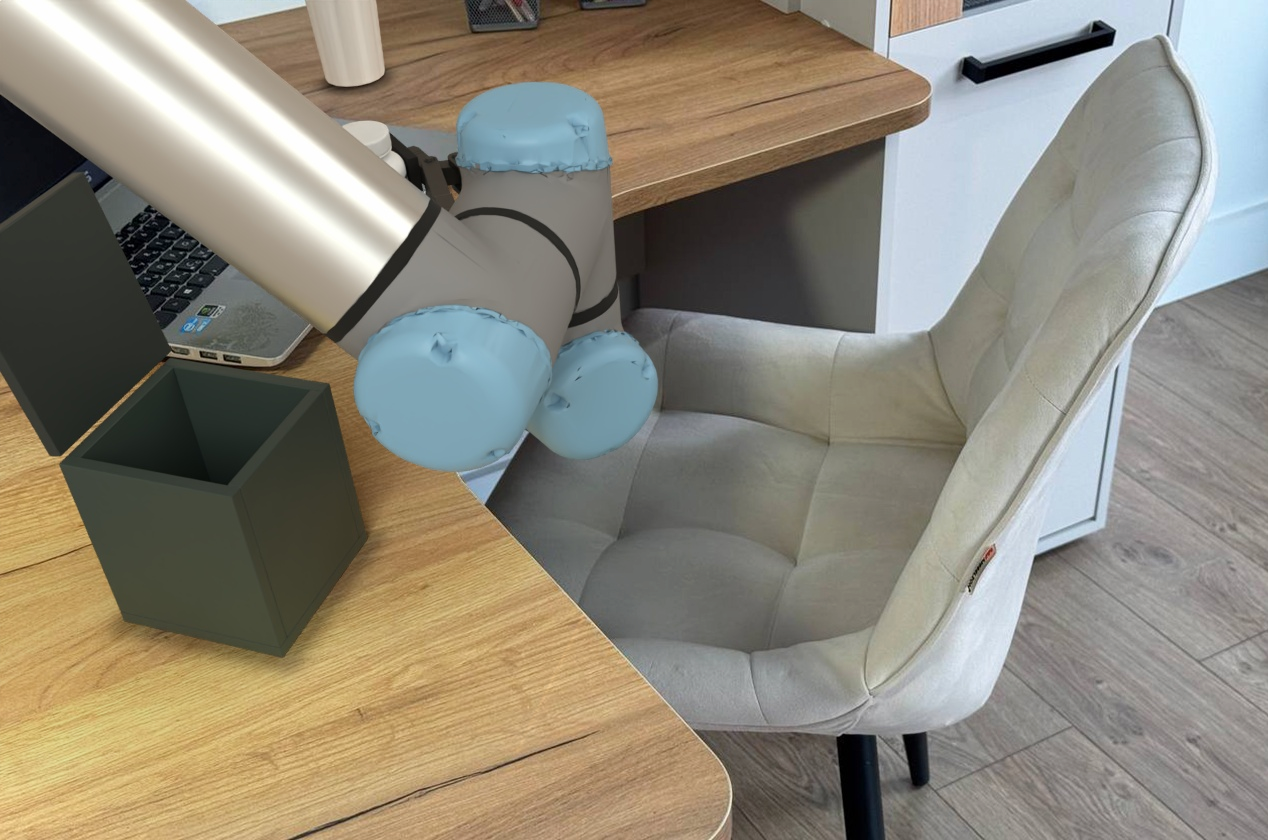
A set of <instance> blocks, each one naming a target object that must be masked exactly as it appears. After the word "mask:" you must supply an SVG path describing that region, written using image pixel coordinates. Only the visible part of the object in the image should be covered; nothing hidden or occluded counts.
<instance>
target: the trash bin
mask: <svg viewBox="0 0 1268 840" xmlns="http://www.w3.org/2000/svg"><path fill="white" fill-rule="evenodd" d="M340 425H341V424H340V421H339V417H338V414H337V409H336V405H335V400H334V396H333V393H332V387H331V384H330V383H329V382H322V381H317V380H316V381H315V380H310V379H305V378H299V377H291V376H286V375H281V374H280V375H279V374H272V373H266V372H260V371H255V370H247V369H241V368H234V367H231V366H222V365H216V364H211V363H204V362H198V361H192V360H184V359H178V358H173V357H170V358H168V359H167V360H166V361H164V363H163V364H162V365H160V366H159V367H158V368H157V369H156V370H155V371H154V372H153V373H152V374H151V375H150V376H149V377H148V378H147V379H146V380H145V381H144V382H142V383H141V384H140V385H139V386H138V387H137V388H136V390H134V391H133V392H132V393H131V394H130V395H129V396H127V398H126V399H125V400H124V401H123V402H121V404H120V405H118V406H117V407H116V408H115V410H113V411H112V412H111V413H110V414H109V415H108V416H107V417H106V418H105V419H104V420H103V421H102V422H100V423H99V424H98V426H96V427H95V428H94V429H93V430H92V431H91V432H90V433H89V434H88V435H87V436H86V437H85V438H84V439H83V440H82V441H81V442H80V443H79V444H77V446H76V447H75V448H73V450H72V451H70V452H69V453H68V455H66V456H65V458H63V459H62V460H61V461H60V462H59V463H58V466H59V468H60V471H61V473H62V476H63V477H64V480H65V483H66V485H67V488H68V491H69V493H70V495H71V497H72V499H73V502H74V504H75V506H76V509H77V512H78V514H79V516H80V519H81V521H82V523H83V526H84V529H85V531H86V533H87V535H88V538H89V540H90V542H91V545H92V547H93V550H94V552H95V554H96V556H97V559H98V562H99V564H100V567H101V569H102V571H103V574H104V576H105V579H106V581H107V583H108V585H109V588H110V590H111V593H112V595H113V598H114V600H115V602H116V605H117V608H118V609H119V612H120V614H121V617H122V620H123V621H124V622H126V623H130V624H135V625H138V626H143V627H148V628H151V629H152V628H153V629H156V630H161V631H164V632H170V633H173V634H178V635H182V636H186V637H191V638H196V639H200V640H203V641H207V642H208V641H209V642H213V643H217V644H222V645H226V646H230V647H235V648H238V649H243V650H246V651H247V650H248V651H252V652H256V653H260V654H265V655H270V656H273V657H278V658H284V657H285V656H286V654H287V653H288V651H289V650H290V649H291V648H292V646H293V645H294V643H295V642H296V640H297V639H298V637H299V636H300V635H301V633H302V632H303V630H304V629H305V628H306V627H307V625H308V624H309V622H310V620H311V619H312V618H313V616H314V615H315V613H316V612H317V611H318V609H319V608H320V607H321V606H322V604H323V602H324V601H325V600H326V598H327V596H329V594H330V593H331V591H332V590H333V588H334V587H335V585H337V582H339V580H340V579H341V577H342V576H343V574H344V573H345V571H347V568H348V567H349V566H350V565H351V563H352V561H353V560H354V559H355V558H356V556H357V555H358V554H359V552H360V550H361V549H362V548H363V546H364V545H365V543H366V542H367V540H368V534H367V530H366V528H365V523H364V519H363V515H362V511H361V507H360V503H359V499H358V495H357V491H356V486H355V482H354V479H353V474H352V470H351V466H350V462H349V458H348V454H347V450H346V446H345V442H344V437H343V434H342V430H341V429H342V428H341V426H340Z"/></svg>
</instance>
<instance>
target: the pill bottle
mask: <svg viewBox="0 0 1268 840" xmlns="http://www.w3.org/2000/svg"><path fill="white" fill-rule="evenodd" d="M341 126H342V127H343V128H344V129H345V130H347V131H348V132H349V133H350V134H351V135H353V136H354V137H355V138H356V139H358V140H359V141H360V142H361V143H363V144H364V145H365V146H366V147H368V148H369V149H370V150H371V151H372V152H374V153H375V154H376V155H377V156H379V157H380V158H381V159H382V160H384V161H385V162H386V163H387V164H388V165H390V166H391V167H392V168H393V169H395V170H396V171H397V172H398V173H400V174H401V175H402V176H403V177H405V178H406V179H407V180H408V177H407V172H406V167H405V163H404V161H403V159H402V158H401V157H400V156H399V155H398V154H397V153H395V152H393V151H391V148H392V146H391V139H390V134H389V132H390V130H389V127H388V125H386V124H384V122H383V123H382V122H380V121H377V120H358V121H352V122H348V123H346V124H343V125H341Z"/></svg>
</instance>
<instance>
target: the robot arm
mask: <svg viewBox="0 0 1268 840" xmlns="http://www.w3.org/2000/svg"><path fill="white" fill-rule="evenodd" d="M0 95H1V96H2V97H3V98H5V99H6V100H8V101H9V102H10V103H12V104H13V105H14V106H15V107H17V108H18V109H20V110H21V111H22V112H24V113H25V115H28V116H29V117H31V118H32V119H33V120H34V121H36V122H37V123H38V124H40V125H41V126H43V127H44V128H45V129H46V130H48V131H49V132H51V133H52V134H53V135H55V136H56V137H57V138H59V139H60V140H61V141H63V142H64V143H65V144H67V145H68V146H69V147H71V148H72V149H74V150H75V151H76V152H78V153H79V154H80V155H81V156H83V157H84V158H86V159H87V160H88V161H90V162H91V163H92V164H93V165H95V166H96V167H98V168H99V169H100V170H102V171H103V172H104V173H106V174H107V175H109V176H110V177H111V178H112V179H114V180H115V181H117V182H118V183H119V184H121V185H122V186H123V187H125V188H126V189H128V190H129V191H130V192H131V193H133V194H134V195H135V196H137V197H138V198H139V199H141V200H142V201H143V202H145V203H146V204H148V205H149V206H150V207H151V208H153V209H154V210H156V211H157V212H158V213H160V214H161V215H162V216H163V217H165V218H166V219H168V220H169V221H171V222H172V223H173V224H175V225H176V226H177V227H179V228H180V229H181V230H183V231H184V232H185V233H186V234H187V235H189V236H191V237H192V238H193V239H195V240H196V241H198V242H199V243H200V244H202V246H204V247H206V248H207V249H208V250H209V251H211V252H212V253H213V254H215V255H216V256H217V257H219V258H220V259H222V260H223V261H224V262H226V263H227V264H228V265H229V266H231V267H233V268H234V269H235V270H236V271H238V272H239V273H240V274H242V275H243V276H245V277H246V278H247V279H248V280H250V281H252V283H254V284H256V285H257V286H258V287H259V288H261V289H262V290H263V291H265V292H266V293H268V295H270V296H271V297H273V298H274V299H276V300H277V301H278V302H279V303H281V304H282V305H283V306H285V307H286V308H288V309H289V310H290V311H292V312H293V313H294V314H296V315H297V316H299V317H300V318H301V319H303V320H304V321H305V322H307V323H308V324H309V325H310V326H311V327H313V328H314V329H316V330H317V331H319V332H320V333H321V334H323V336H325V337H326V338H327V339H328V340H330V341H331V342H333V343H334V344H336V345H337V346H338V347H339V348H340V349H342V351H344V352H345V353H346V354H347V355H349V356H350V357H352V358H353V359H355V360H356V361H357V366H356V368H355V374H354V379H353V398H354V403H355V406H356V408H357V411H358V413H359V416H360V417H362V418H363V419H364V421H365V422H366V425H368V427H369V429H370V430H371V435H372V437H374V439H375V440H376V441H377V442H378V443H379V444H380V445H381V446H383V447H384V448H385V449H386V450H388V451H389V452H390V453H392V454H393V455H395V456H396V457H398V458H400V459H401V460H403V461H405V462H407V463H410V464H412V465H416V466H419V467H422V468H424V469H427V470H432V471H436V472H443V473H444V472H445V473H463V472H470V471H474V470H479V469H482V468H484V467H486V466H489V465H492V464H494V463H495V462H497V461H499V460H500V459H501V458H503V457H504V456H506V455H510V453H511V452H512V451H513V449H514V447H516V445H517V444H518V443H519V441H520V440H521V439H522V436H523V434H524V432H525V431H526V432H528V433H530V434H531V435H532V436H534V437H535V439H538V441H540V442H541V443H542V444H543V445H544V446H545V447H546V448H548V449H549V450H550V451H551V452H553V453H554V454H556V455H558V456H560V457H562V458H565V459H569V460H575V461H587V460H588V461H589V460H594V459H598V458H600V457H602V456H605V455H607V454H608V453H611V452H614V451H617V450H619V449H620V448H622V447H623V446H624V445H626V444H627V443H629V442H630V441H631V440H632V439H633V438H634V437H635V436H636V435H637V434H638V433H639V432H640V431H641V430H642V428H643V426H644V425H645V424H646V422H647V421H648V420H649V417H650V416H651V414H652V412H653V409H654V407H655V405H656V404H655V403H656V401H657V396H658V391H659V379H658V372H657V369H656V367H655V365H654V362H653V360H652V359H651V357H650V356H649V354H648V353H647V352H646V351H645V350H644V349H643V348H642V346H641V345H640V342H639V341H638V340H637V339H636V338H634V336H633V335H632V334H630V333H629V332H627V331H625V330H624V326H623V324H622V320H621V319H622V317H621V316H622V314H621V300H620V286H619V284H618V276H617V263H616V245H615V230H614V229H615V228H614V213H613V211H614V210H613V194H612V178H611V167H612V166H613V165H614V162H613V157H612V156H611V155H610V150H609V143H608V137H607V127H606V121H605V115H604V113H603V110H602V107H601V106H600V104H599V102H598V101H597V100H596V99H595V98H594V97H593V96H592V95H590V94H589V93H587V92H586V91H585V90H583V89H581V88H577V87H574V86H572V85H570V84H565V83H560V82H553V81H523V82H515V83H510V84H506V85H501V86H498V87H495V88H491V89H489V90H485V91H484V92H482V93H479V94H478V95H476V96H475V97H473V98H472V99H470V100H469V101H468V102H467V103H466V104H465V105H464V106H463V107H462V108H461V110H460V111H459V114H458V115H457V118H456V122H455V123H456V124H455V132H456V142H457V143H456V144H457V151H454V152H450V153H449V154H448V155H447V159H445V160H439V159H438V158H437V156H435V155H428V154H427V153H426V152H425V151H424V150H422V149H421V148H420V147H418V146H415V145H411V146H408V147H407V146H406V145H405V144H404V143H403V142H402V141H400V139H398V138H397V137H396V136H395V135H394V134H392V133H391V132H390V131H389V134H390V139H391V146H392V148H391V151H393V152H395V153H397V154H398V155H399V156H400V157H401V158H402V159H403V161H404V163H405V167H406V172H407V177H408V180H407V179H406V178H405V177H403V176H402V175H401V174H400V173H398V172H397V171H396V170H395V169H393V168H392V167H391V166H390V165H388V164H387V163H386V162H385V161H384V160H382V159H381V158H380V157H379V156H377V155H376V154H375V153H374V152H372V151H371V150H370V149H369V148H368V147H366V146H365V145H364V144H363V143H361V142H360V141H359V140H358V139H356V138H355V137H354V136H353V135H351V134H350V133H349V132H348V131H347V130H345V129H344V128H343V127H342V126H343V125H340V124H339V123H338V122H337V121H336V120H334V119H333V118H332V117H330V115H328V114H327V113H326V112H325V111H323V110H322V109H321V108H320V107H318V106H317V105H316V104H315V103H313V102H312V101H311V100H310V99H308V97H306V96H305V95H303V93H301V92H300V91H298V90H297V89H296V88H294V86H292V85H291V84H290V83H288V82H287V81H286V80H285V79H284V78H282V77H281V76H280V75H279V74H277V72H275V71H274V70H272V68H270V67H269V66H268V65H266V64H265V63H264V62H263V61H262V60H260V59H259V58H258V57H257V56H256V55H254V54H253V53H251V52H250V51H249V50H248V49H247V48H245V46H243V44H240V42H238V41H237V40H236V39H234V38H233V37H232V36H231V35H229V34H228V33H227V32H226V31H224V30H223V29H222V28H220V26H218V25H217V24H216V23H214V21H212V20H211V19H210V18H208V17H207V16H206V14H203V13H202V11H201V10H199V9H197V8H196V7H195V6H194V5H192V4H191V3H190V2H188V0H0ZM423 186H424V187H423ZM449 186H451V188H452V190H453V191H454V192H455V193H456V194H457V195H458V196H457V197H456V198H454V195H453V193H452V192H450V189H449ZM424 191H425V192H424Z"/></svg>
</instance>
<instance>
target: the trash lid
mask: <svg viewBox="0 0 1268 840" xmlns="http://www.w3.org/2000/svg"><path fill="white" fill-rule="evenodd" d="M146 297H147V296H146V295H145V293H144V291H143V289H142V287H141V285H140V283H139V281H138V279H137V277H136V275H135V273H134V271H133V268H132V267H131V264H130V263H129V261H128V259H127V256H126V254H125V253H124V250H123V249H122V246H121V244H120V242H119V241H118V239H117V236H116V234H115V232H114V230H113V229H112V226H111V224H110V222H109V221H108V218H107V216H106V214H105V212H104V210H103V208H102V206H101V204H100V202H99V200H98V198H97V196H96V194H95V192H94V190H93V188H92V186H91V184H90V182H89V180H88V178H87V176H86V173H85V172H84V171H78V172H72V173H71V174H69V175H68V176H66V177H64V178H63V179H62V180H61V181H59V182H58V183H57V184H55V185H53V186H52V187H50V188H49V189H48V190H47V191H45V192H44V193H42V194H41V195H39V196H38V197H37V198H35V199H33V200H32V201H31V202H29V203H28V204H26V205H25V206H24V207H22V208H21V209H20V210H18V211H17V212H16V213H14V214H13V215H11V216H10V217H8V218H6V219H5V220H4V221H3V222H1V223H0V374H1V375H2V377H3V379H4V381H5V382H6V384H7V386H8V388H9V390H10V391H11V393H12V394H13V396H14V398H15V400H16V402H17V403H18V405H19V407H20V408H21V410H22V411H23V413H24V415H25V417H26V418H27V420H28V422H29V423H30V425H31V427H32V429H33V430H34V432H35V434H36V435H37V437H38V439H39V441H40V442H41V444H42V446H43V447H44V449H45V451H46V452H47V454H48V456H49V457H56V458H57V457H59V458H61V457H62V456H63V455H64V454H65V453H66V452H67V451H69V449H71V447H73V446H74V444H76V443H77V442H79V440H80V439H81V438H82V437H83V436H84V435H85V434H86V433H87V432H88V431H89V430H90V429H91V428H92V427H93V426H94V425H96V424H97V423H98V422H99V421H100V420H101V419H102V418H104V416H105V415H106V414H107V413H109V412H110V411H111V410H112V409H113V408H114V407H115V406H116V405H117V404H118V403H119V402H120V401H121V400H122V399H123V398H124V397H125V396H126V395H127V394H128V393H129V392H131V390H132V389H134V388H135V386H137V385H138V384H139V383H140V382H141V381H142V380H143V379H144V378H146V376H147V375H148V374H149V373H151V371H152V370H153V369H155V368H156V367H157V366H158V365H159V364H160V363H161V362H162V361H163V360H164V359H165V358H166V357H168V355H169V354H171V353H172V350H173V349H172V348H171V345H170V344H169V341H168V340H167V337H166V335H165V333H164V332H163V330H162V327H161V326H160V324H159V322H158V319H157V317H156V316H155V314H154V311H153V309H152V307H151V304H150V303H149V301H148V299H147V298H146Z"/></svg>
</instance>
